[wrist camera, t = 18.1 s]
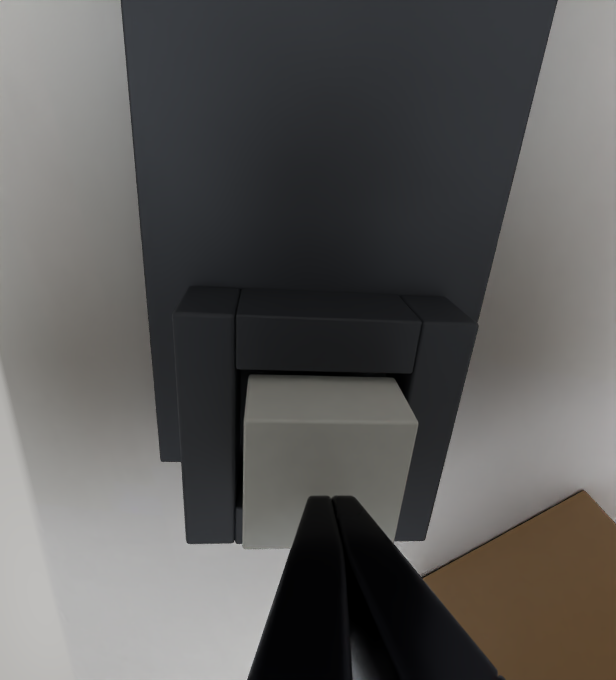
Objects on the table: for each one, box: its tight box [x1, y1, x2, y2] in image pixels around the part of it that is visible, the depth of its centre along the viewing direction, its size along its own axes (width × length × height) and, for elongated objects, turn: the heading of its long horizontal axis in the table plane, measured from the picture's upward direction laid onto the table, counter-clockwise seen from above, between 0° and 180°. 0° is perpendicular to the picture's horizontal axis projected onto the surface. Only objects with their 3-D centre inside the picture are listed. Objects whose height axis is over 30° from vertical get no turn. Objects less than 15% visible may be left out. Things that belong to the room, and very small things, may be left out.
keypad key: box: [242, 374, 418, 549], centre depth 9 cm, size 3×3×2 cm
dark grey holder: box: [121, 0, 558, 544], centre depth 8 cm, size 19×8×3 cm, turn 176°
